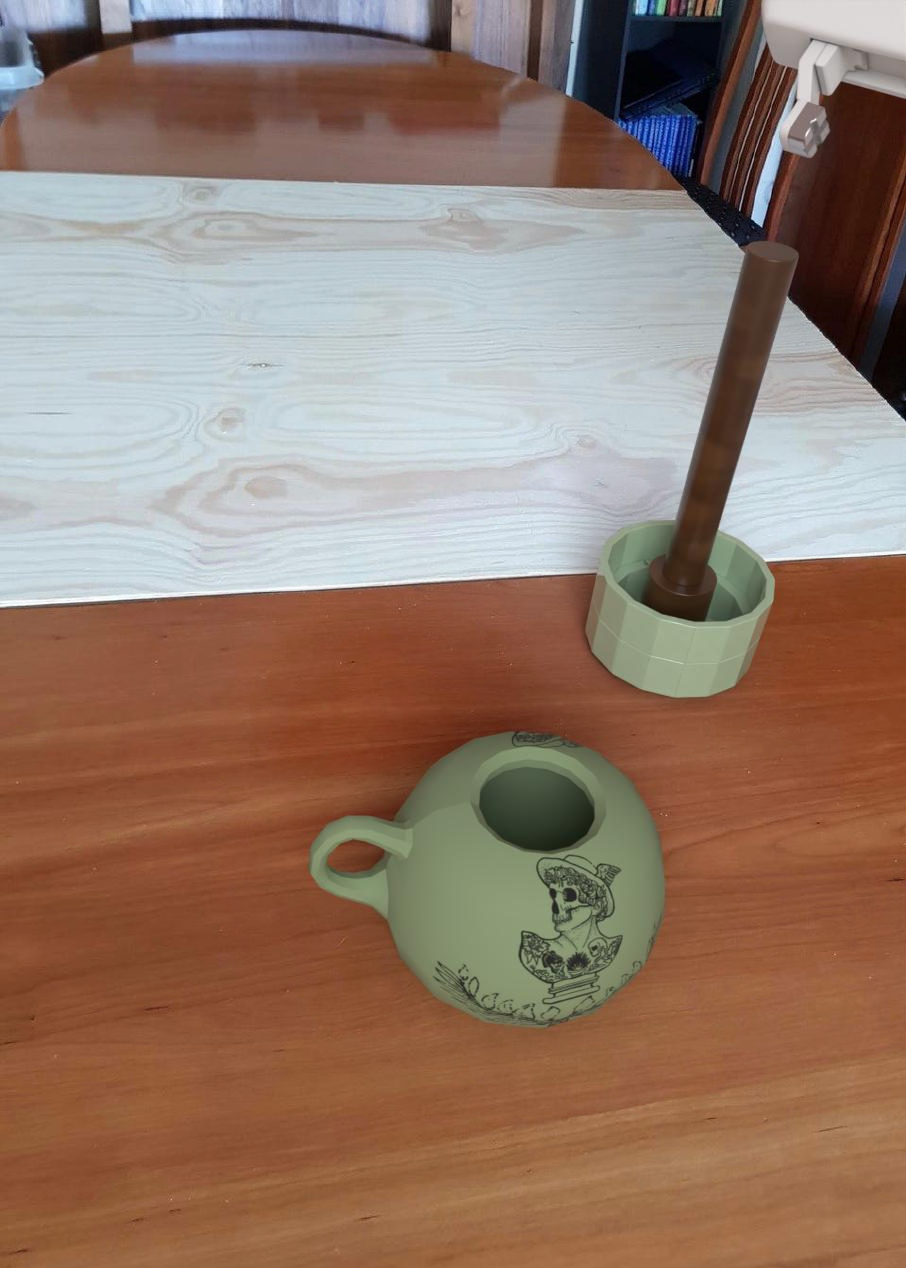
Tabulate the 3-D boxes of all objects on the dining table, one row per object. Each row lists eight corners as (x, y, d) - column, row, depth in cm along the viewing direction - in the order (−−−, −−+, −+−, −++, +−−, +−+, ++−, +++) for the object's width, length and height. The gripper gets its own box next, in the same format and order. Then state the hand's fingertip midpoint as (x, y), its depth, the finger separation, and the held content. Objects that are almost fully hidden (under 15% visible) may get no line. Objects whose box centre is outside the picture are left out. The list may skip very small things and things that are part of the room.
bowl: (718, 594, 70) (742, 519, 66) (770, 702, 62) (800, 625, 58) (570, 596, 68) (585, 520, 64) (604, 707, 61) (623, 628, 57)
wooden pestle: (687, 616, 67) (798, 235, 51) (706, 659, 64) (829, 269, 48) (626, 616, 66) (718, 232, 50) (641, 660, 63) (745, 266, 47)
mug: (614, 803, 55) (647, 684, 50) (686, 1036, 46) (736, 921, 40) (306, 819, 53) (303, 696, 47) (313, 1068, 44) (310, 951, 38)
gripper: (1296, 11, 45) (1104, 286, 46) (867, -70, 56) (717, 156, 57) (1334, -113, 40) (1115, 202, 41) (852, -177, 50) (686, 75, 51)
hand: (881, 175), depth 49 cm, fingers open, 8 cm apart
